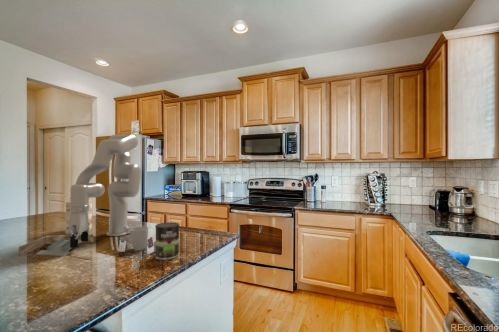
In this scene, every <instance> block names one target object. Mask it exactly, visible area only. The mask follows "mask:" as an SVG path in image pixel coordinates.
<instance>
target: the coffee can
mask: <svg viewBox="0 0 499 332" xmlns="http://www.w3.org/2000/svg"><path fill="white" fill-rule="evenodd" d="M179 247H180V223H179V222H173V221H172V222H161V223H158V224H155V259H157V260H163V261H165V260H172V259H176V258H178V257H179V255H180V253H179V251H180V248H179Z"/></svg>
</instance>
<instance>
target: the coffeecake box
mask: <svg viewBox="0 0 499 332" xmlns="http://www.w3.org/2000/svg"><path fill="white" fill-rule="evenodd" d="M70 214H71V213H70V200H69V201H65V235H69V233H68V230H69V218H70ZM88 218H89V230H92V229H93V199H92V198H89V212H88Z"/></svg>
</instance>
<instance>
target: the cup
mask: <svg viewBox="0 0 499 332" xmlns="http://www.w3.org/2000/svg"><path fill="white" fill-rule="evenodd" d="M134 227H135V226H134ZM148 236H149V227H148V226H136V227H135V228H132V229H130V240H131V246H132V248H133V250H134V251H136V252H137V251H144V250H145V249H146V247H147V243H148V238H149V237H148Z"/></svg>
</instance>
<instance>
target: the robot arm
mask: <svg viewBox="0 0 499 332" xmlns="http://www.w3.org/2000/svg"><path fill="white" fill-rule="evenodd" d="M138 141H139V140H138V137H137V136H136V135H134V134H132V133H131V134H129V133H128V134H125V133H123V134H112V135H110V136H109V138H108V139H103V140H101V141H100V142H99V144H98V145H97V149H96V151H95V154H94V157H93V160H92V162H91V163H90V164H89V165H88V166H86V167H85V168H84V169H83V170H82V171H81V173H80V174H79V175H78V177H77V179H76V182H75V184H72V185H71V186H70V188H69V190H70V195H69V197H70V199H69V201H70V213H71V214H70V218H69V230H68V233H69V234H68V235H69V237H70V248H71V249H74V248H77V249H78V247H79V243H78V239H77V237H78V235H81V242H83V243H85V242H84V241H88V234H90V233H89V231H90V229H89V218H88V212H89V199H91V198H99V197H102V196H103V195H104V194H105V191H106V188H105V186H104V185H103V184H101V183H98V182H90V181H91V180H92V179H93V178H94V177H95V176H96V175H99V174H101V173H103V172H105V171H108V169H109V168H110V167H111V164H112V161H113V158H114V157H115V160H114V165H113V171H112V172H113V173H112V174H113V177H114V178H115V179H117V180H118V181H112V182H111V183H109V184H108V186H107V193H108V194H107V195H108V200H109V231H107V232H106V236H109V237H118V236H119V237H120V236H125V235H128V234H131V231H130V229H132V228H135V226H130V224H128V201H127V198H134V197H137V196H138V195H139V191H140V186H141V179H142V178H141V177H142V169H141V167H140V165H139V164H137V163H131V160H132V157H131V153H130V151H132V150H134V149H135V148H136V147H137V145H138V143H139V142H138ZM120 180H121V181H120ZM123 180H125V181H123ZM126 180H128V181H126ZM75 235H76V236H75Z"/></svg>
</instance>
